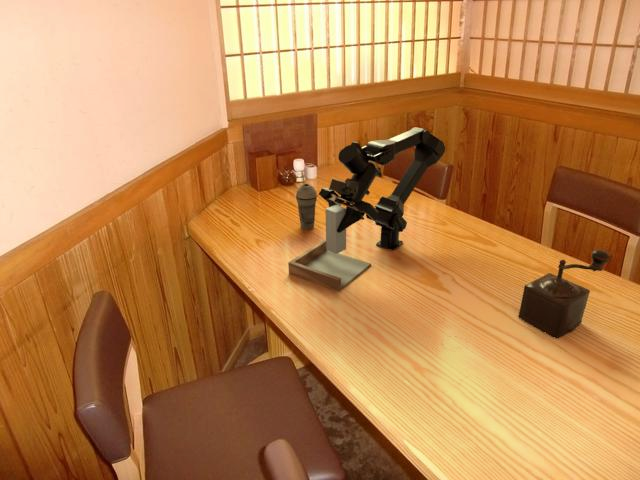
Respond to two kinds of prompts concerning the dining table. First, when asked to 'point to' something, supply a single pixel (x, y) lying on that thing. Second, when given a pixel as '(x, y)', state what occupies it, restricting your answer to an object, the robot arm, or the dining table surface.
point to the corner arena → (326, 267)
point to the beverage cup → (306, 205)
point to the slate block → (335, 229)
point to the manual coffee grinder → (558, 299)
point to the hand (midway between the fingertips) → (332, 229)
